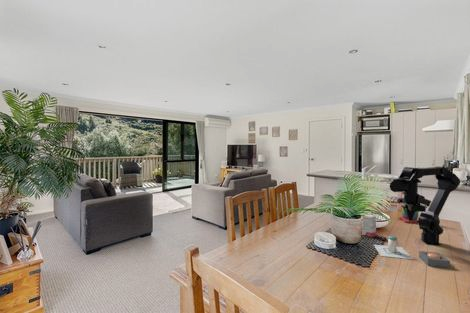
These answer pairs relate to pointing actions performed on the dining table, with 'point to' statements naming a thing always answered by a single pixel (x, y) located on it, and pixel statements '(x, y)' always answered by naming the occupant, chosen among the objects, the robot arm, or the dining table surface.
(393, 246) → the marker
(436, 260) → the button housing
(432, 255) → the button
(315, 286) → the dining table surface
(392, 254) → the paper sheet
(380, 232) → the dining table surface
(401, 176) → the robot arm
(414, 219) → the stacking bear
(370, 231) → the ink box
